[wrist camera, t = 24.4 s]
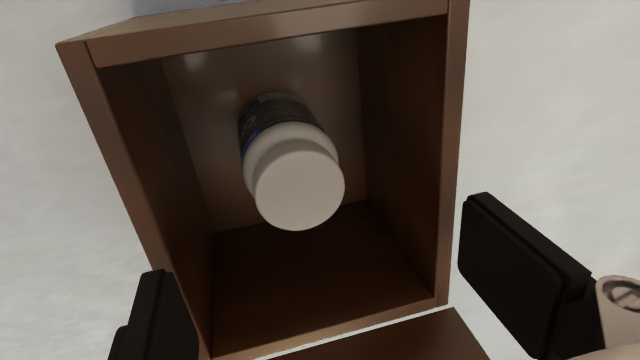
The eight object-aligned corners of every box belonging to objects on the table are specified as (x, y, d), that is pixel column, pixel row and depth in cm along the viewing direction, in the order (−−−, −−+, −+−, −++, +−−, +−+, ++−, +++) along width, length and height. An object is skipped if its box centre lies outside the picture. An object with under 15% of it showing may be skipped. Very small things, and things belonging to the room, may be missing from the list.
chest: (134, 17, 19) (52, 43, 10) (362, -15, 21) (472, -17, 12) (206, 238, 26) (197, 375, 17) (373, 200, 28) (448, 304, 19)
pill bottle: (233, 92, 22) (240, 146, 14) (312, 88, 22) (356, 136, 15) (240, 166, 24) (249, 245, 16) (313, 159, 25) (351, 231, 17)
